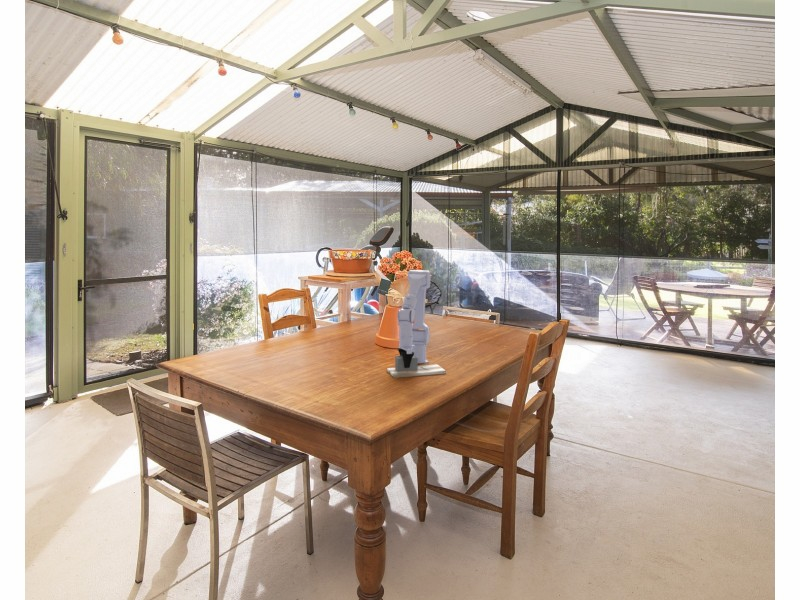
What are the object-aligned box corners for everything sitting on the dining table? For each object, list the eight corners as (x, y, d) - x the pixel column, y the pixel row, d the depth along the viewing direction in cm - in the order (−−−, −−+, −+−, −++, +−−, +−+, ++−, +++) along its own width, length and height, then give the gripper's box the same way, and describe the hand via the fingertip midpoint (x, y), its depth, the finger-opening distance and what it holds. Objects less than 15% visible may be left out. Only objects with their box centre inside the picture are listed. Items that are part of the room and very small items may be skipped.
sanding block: (395, 369, 219) (395, 355, 218) (414, 368, 220) (414, 355, 220) (397, 372, 214) (397, 358, 213) (417, 371, 216) (417, 357, 215)
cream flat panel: (386, 370, 220) (386, 368, 220) (436, 366, 227) (436, 364, 227) (393, 377, 210) (393, 375, 210) (446, 373, 217) (446, 370, 217)
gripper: (418, 339, 209) (418, 370, 211) (411, 332, 223) (410, 361, 225) (402, 339, 207) (402, 370, 209) (395, 332, 221) (395, 361, 223)
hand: (405, 365), depth 217 cm, fingers closed on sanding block, 5 cm apart
